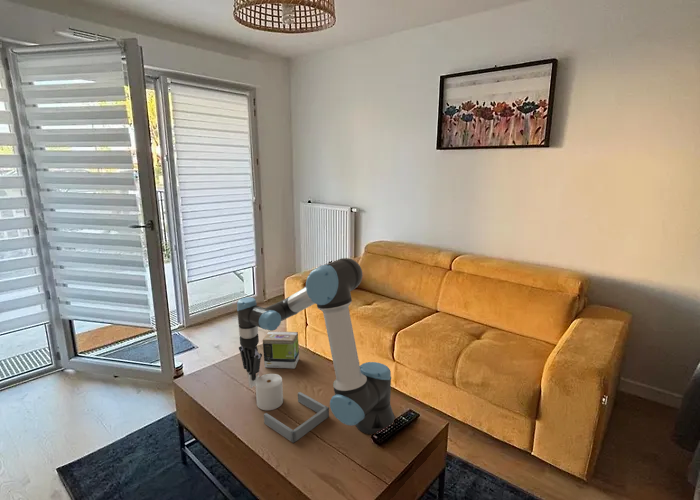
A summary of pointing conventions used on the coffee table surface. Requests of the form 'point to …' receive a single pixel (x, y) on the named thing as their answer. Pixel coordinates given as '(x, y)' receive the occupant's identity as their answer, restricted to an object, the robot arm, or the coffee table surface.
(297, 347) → the tea box
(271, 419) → the grey u-shaped bracket
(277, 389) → the toilet tissue
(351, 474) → the coffee table surface
